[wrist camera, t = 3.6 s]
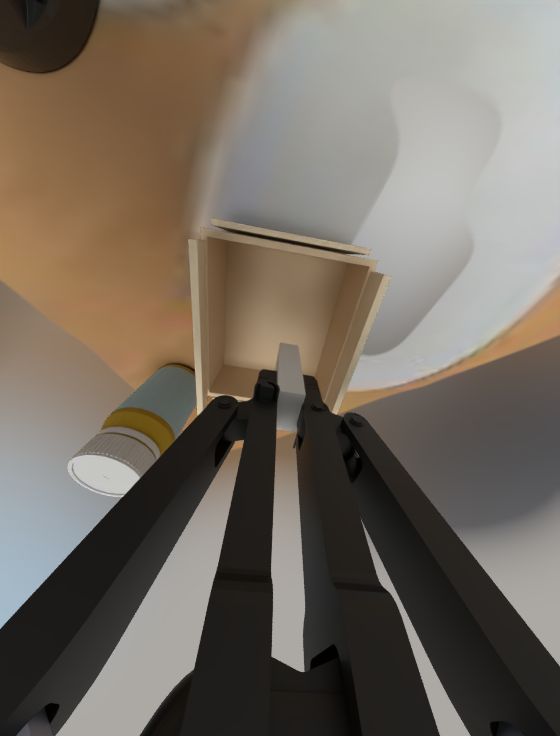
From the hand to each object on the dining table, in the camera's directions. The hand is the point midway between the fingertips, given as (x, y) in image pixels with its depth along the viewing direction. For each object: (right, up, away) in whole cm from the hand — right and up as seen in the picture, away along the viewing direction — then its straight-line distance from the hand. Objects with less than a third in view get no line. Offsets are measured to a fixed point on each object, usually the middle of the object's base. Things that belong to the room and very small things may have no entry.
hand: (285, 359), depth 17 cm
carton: (-1, +5, +9) cm, 11 cm away
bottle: (-15, -3, +14) cm, 21 cm away
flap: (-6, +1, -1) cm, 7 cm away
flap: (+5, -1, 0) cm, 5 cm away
